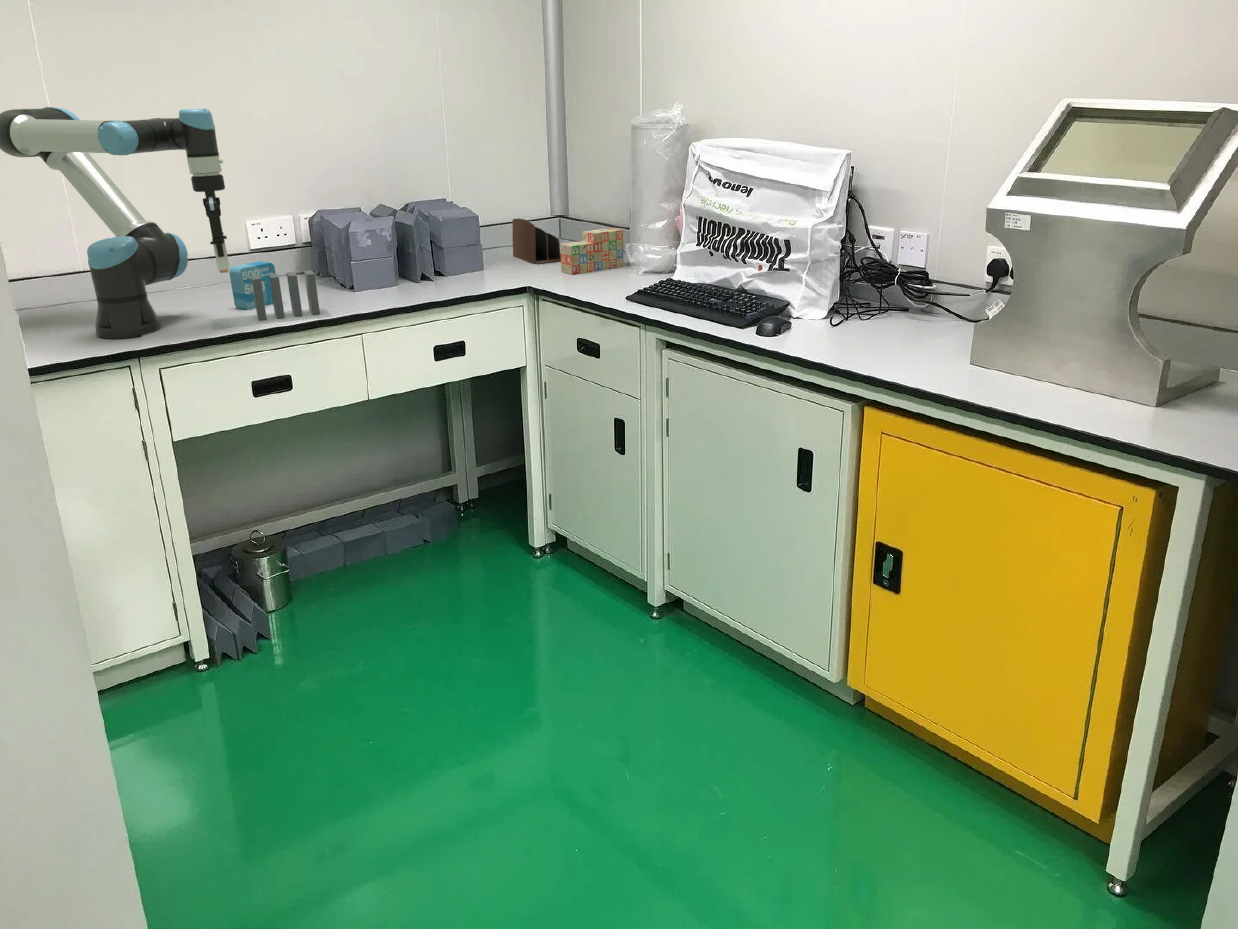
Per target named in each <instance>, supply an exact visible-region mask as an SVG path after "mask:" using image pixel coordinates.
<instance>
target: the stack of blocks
mask: <svg viewBox="0 0 1238 929" xmlns="http://www.w3.org/2000/svg"><path fill="white" fill-rule="evenodd" d="M624 246H625V245H624V229H619V228H612V227H610V228H599V229H593V230H586V231H582V240H580V241H572V242H565V243H560V254H561V262H560V272H561V273H563V274H568V275H572V276H573V275H579V274H586V273H592V271H593V272H597V271H598V270H599V271H605V270H610V269H616V268H623V267H625V266H624V263H625V262H624V260H625V259H624V248H625V247H624Z"/></svg>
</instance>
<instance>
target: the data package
mask: <svg viewBox="0 0 1238 929" xmlns="http://www.w3.org/2000/svg"><path fill="white" fill-rule="evenodd" d="M228 273H229V278H230V284H231V290H232V297H233V303H234V306H235V308H236V309H238V310H239V309H241V310H244V311H245V310H246V311H249V310H252V309H256V306H255V299H254V293H253V287H252V280H251V276H254V275H259V277H260V279H261V285H262V291H263V298H264V304H265V306H269V305H270V306H271V305H273V299H272V292H271V286H270V279H269V274H276V273H277V272H276V268H275V265H274V264H273V263H272V262H270V261H262V260H261V261H260V260H259V261H255V262H250V263H244V264H239V265H235V266H233V265H232V266H231V268H229V270H228Z"/></svg>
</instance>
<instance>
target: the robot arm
mask: <svg viewBox="0 0 1238 929" xmlns="http://www.w3.org/2000/svg"><path fill="white" fill-rule="evenodd" d="M217 141H218V140H217V133H216V125H215V123H214V120H213V115H212V112H211V110H210V109H208V108H183V109H180V110H179V111H178V117H177V118H176V117H174V118H173V117H169V118H167V117H166V118H165V117H163V118H162V117H156V118H148V119H146V118H145V119H138V120H137V119H136V120H135V119H134V120H97V119H96V120H95V119H94V120H91V119H89V120H88V119H85V120H84V119H80V118H79V117H78V116H77V115H76V114H75V113H73V112H72V111H70V110H68V109H65V108H63V107H54V106H53V107H52V106H47V107H46V106H45V107H42V108H18V109H17V108H16V109H15V108H13V109H7V110H4V111H2V112H1V113H0V150H1V151H2V152H4V153H5V154H7V155H8V156H9V155H10V156H11V157H16V158H36V157H39V158H41V160H42V161H43V162H44V163H45V164H46V165H47V167H48V168H49V169H50V170H54V171H59V172H60V173H61V174H62V175H63V176H64V177H65V178H66V180H67V181H68V182H69V183H70V184H71V186H72V187H73V189H75V191H76V192H78V194H79V195H80V196H81V197H82V199H84V201H85V202H86V203H87V204H88V206H89V207H90V208H91V209H92V210H93V211H94V213H95V214H96V215H97V216H98V217H99V219H101V221H102V222H103V223H104V225H105V226H107V228H108V229H109V230H110V231H111V233H113V235H114V237H109V238H107V237H106V238H103V239H100V240H97V241H94V242H93V243H91V244H90V245H89V246H88V247H87V250H86V252H87V253H86V254H87V264H88V267H89V270H90V275H91V279H92V284H93V288H94V293H95V296H96V301H97V310H96V318H95V319H96V320H95V325H94V327H95V328H94V329H95V332H96V333H95V334H96V337H98V338H101V339H109V340H111V339H115V340H116V339H129V338H137V337H142V336H145V335H148V334H151V333H154V332H157V331H160V329H161V328H162V327H161V320H160V319H159V316H158V315H157V313H156V311H155V310H154V308H153V306H152V304H151V303H150V300H149V299H148V293H147V289H146V286H148V285H153V284H156V283H157V284H158V283H160V282H166V281H171V280H173V279H175V278H178V277H179V276H181V275H183V274H184V273H185V271H186V270H187V267H188V264H189V259H188V256H189V254H188V249H187V247H186V245H185V243H184V241H183V239H182V238H180V236H179V235H177V234H175V233H171V232H164V231H163V229H162V228H161V227H159V225H157V223H156V222H154V221H151V220H149V221H147V220H146V219H145V217H143V215H142V213H140V212H139V211H138V210H137V208H136V207H135V206H134V204H132V203H131V201H130V200H129V199H128V197H126V195H125V194H124V193H123V191H121V189H120V188H119V187H118V185H116V184H115V182H114V181H113V179H111V178H110V176H108V174H107V173H106V171H105V170H103V168H102V167H101V166H100V165H99V163H98V162H97V161H96V160H95V159H94V157H93V156H92V155H91V154H109V155H113V156H129V155H133V154H143V153H154V152H163V151H177V150H178V151H182V150H183V151H185V152H186V161H187V166H188V170H189V174H190V175H192V176H191V177H190V180H191V186H192V190H193V191H194V192H196V193H203V192H204V195H205V198H204V197H203V198H202V203H203V207H204V209H205V215H206V217H207V218H208V222H209V226H210V232H211V238H212V239H211V241H209V243H210V245H213V249H214V250H213V251H214V256H215V260H216V261H215V262H216V266H217V271H220V270H226V269H228V270H230V264H229V263H230V262H229V258H228V251H227V246H226V241H225V240H228V237H227V235H225V234H224V232H223V227H222V221H221V216H222V210H221V200H220V197H217V196H216V192H217V191H224V190H225V189H226V186H225V180H224V175H223V174H221V173H222V171H223V170H222V169H223V168H222V165H221V164H223V163H224V160H223V159H220V153H219V148H218V142H217Z"/></svg>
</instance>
